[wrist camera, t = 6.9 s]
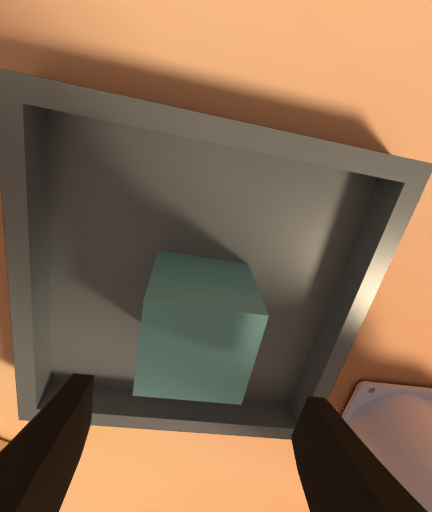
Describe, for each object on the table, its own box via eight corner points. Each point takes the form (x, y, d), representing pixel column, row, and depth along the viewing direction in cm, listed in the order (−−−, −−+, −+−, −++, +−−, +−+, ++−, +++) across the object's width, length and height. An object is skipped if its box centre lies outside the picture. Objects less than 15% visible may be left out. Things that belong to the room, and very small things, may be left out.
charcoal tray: (393, 157, 16) (435, 164, 13) (294, 402, 23) (308, 440, 20) (32, 78, 13) (-9, 66, 11) (42, 380, 20) (18, 419, 18)
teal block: (248, 263, 17) (268, 315, 12) (229, 336, 19) (241, 404, 14) (158, 250, 16) (143, 299, 11) (148, 326, 18) (132, 395, 13)
